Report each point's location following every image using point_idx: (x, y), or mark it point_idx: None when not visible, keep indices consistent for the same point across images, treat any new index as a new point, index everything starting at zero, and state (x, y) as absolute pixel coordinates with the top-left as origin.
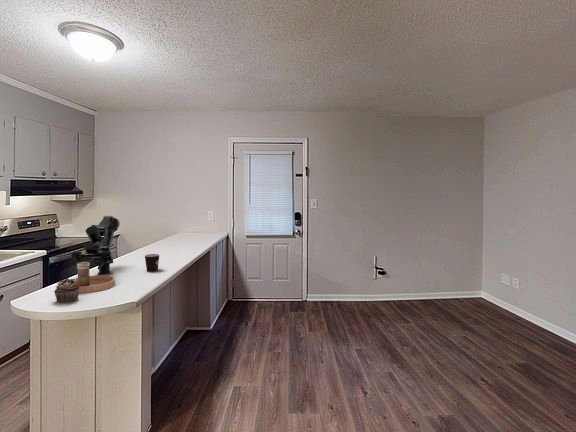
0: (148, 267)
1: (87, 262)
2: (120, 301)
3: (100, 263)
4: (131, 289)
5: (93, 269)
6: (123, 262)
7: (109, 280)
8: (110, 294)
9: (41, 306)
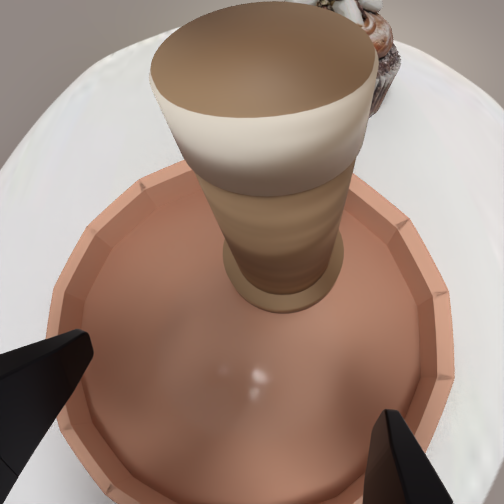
0: None
1: (179, 54)
2: (130, 57)
3: (6, 358)
4: (44, 178)
5: None
6: None
7: (97, 425)
8: (136, 121)
9: (409, 65)
